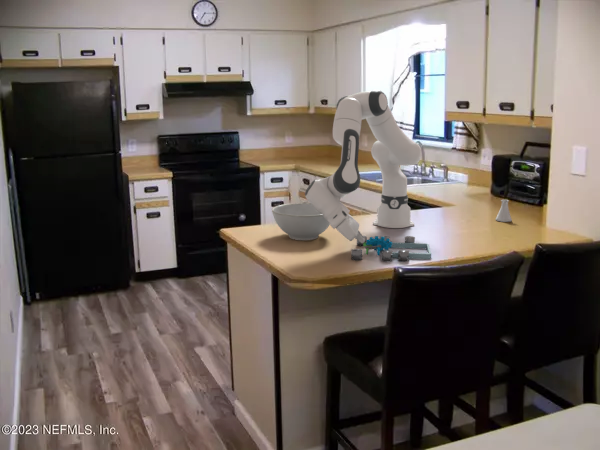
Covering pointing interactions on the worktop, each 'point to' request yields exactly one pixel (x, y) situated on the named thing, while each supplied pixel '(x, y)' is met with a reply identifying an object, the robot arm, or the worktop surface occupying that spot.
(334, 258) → the worktop surface
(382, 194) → the robot arm
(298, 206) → the decorative bowl
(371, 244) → the gear
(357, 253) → the spacers
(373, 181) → the worktop surface
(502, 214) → the flask
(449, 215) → the worktop surface
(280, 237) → the worktop surface
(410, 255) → the light blue u-shaped piece
